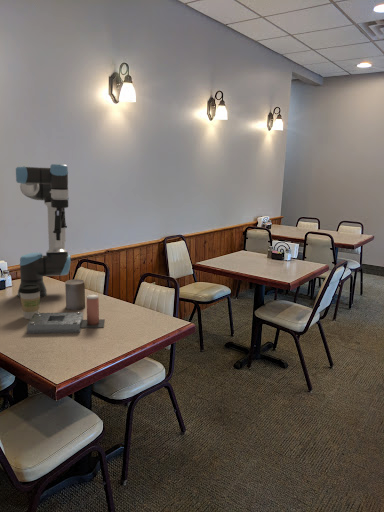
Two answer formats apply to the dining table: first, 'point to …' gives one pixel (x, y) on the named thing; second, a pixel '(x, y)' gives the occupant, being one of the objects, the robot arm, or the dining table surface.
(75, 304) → the pillar candle
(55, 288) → the dining table surface
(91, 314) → the pink round peg
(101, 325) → the mat
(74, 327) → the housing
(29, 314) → the coffee cup
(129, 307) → the dining table surface
